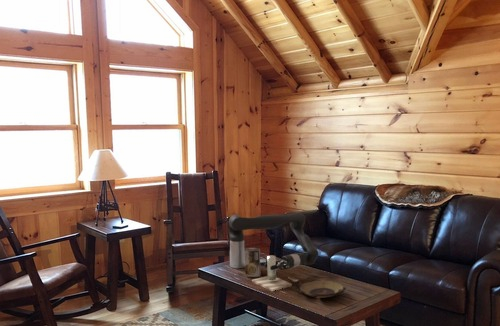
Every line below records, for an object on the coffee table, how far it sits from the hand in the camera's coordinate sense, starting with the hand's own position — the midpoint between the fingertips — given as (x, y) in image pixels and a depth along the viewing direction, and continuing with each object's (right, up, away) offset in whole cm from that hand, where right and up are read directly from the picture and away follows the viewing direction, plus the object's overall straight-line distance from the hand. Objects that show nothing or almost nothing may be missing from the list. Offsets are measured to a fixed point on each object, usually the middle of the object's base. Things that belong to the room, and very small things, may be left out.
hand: (267, 266), depth 244 cm
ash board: (+2, -10, +2) cm, 11 cm away
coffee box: (-8, -9, +18) cm, 22 cm away
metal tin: (+2, -7, +2) cm, 8 cm away
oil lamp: (+26, -11, -14) cm, 32 cm away
